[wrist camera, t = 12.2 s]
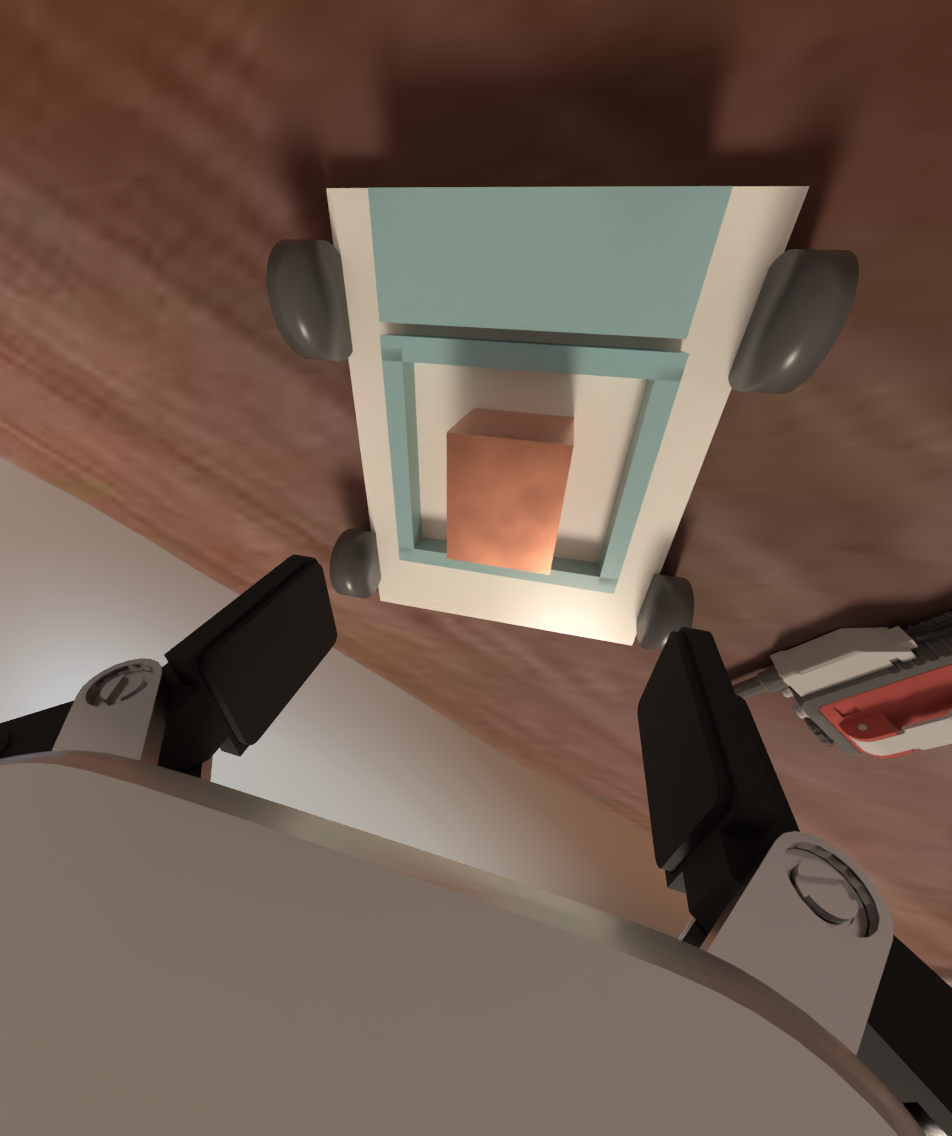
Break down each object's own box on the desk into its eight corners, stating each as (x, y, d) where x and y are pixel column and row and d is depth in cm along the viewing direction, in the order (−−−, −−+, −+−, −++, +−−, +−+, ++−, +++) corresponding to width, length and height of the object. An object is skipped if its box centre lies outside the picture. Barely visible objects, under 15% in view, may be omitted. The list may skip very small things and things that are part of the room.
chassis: (835, 194, 13) (931, 148, 10) (649, 638, 26) (662, 690, 22) (311, 194, 17) (238, 160, 13) (370, 589, 29) (341, 628, 25)
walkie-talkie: (1026, 540, 18) (658, 695, 29) (1137, 595, 15) (669, 748, 25) (1096, 645, 20) (726, 754, 31) (1208, 717, 16) (746, 811, 27)
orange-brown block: (574, 417, 18) (573, 445, 14) (554, 526, 22) (549, 574, 18) (473, 407, 19) (446, 432, 15) (469, 515, 22) (446, 558, 18)
